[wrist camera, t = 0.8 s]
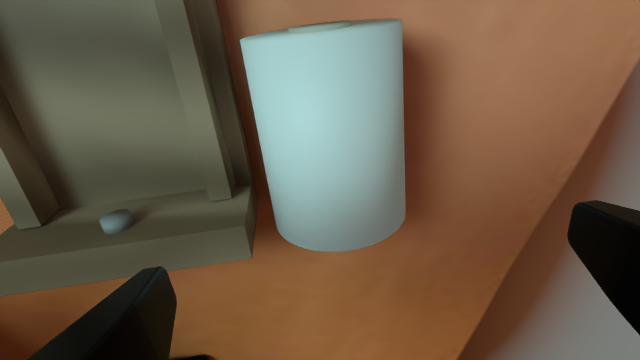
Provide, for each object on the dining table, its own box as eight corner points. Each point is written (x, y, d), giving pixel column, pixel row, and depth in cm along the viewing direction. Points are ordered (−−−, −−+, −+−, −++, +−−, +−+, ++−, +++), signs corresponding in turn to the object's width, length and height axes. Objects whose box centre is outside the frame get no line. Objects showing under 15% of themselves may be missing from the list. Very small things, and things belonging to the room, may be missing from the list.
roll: (386, 178, 20) (425, 241, 15) (276, 195, 20) (276, 265, 15) (379, 13, 17) (427, 17, 11) (245, 30, 17) (230, 42, 11)
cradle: (258, 201, 20) (251, 258, 16) (49, 231, 20) (-19, 299, 15) (168, -219, 13) (109, -338, 8) (-163, -184, 12) (-412, -289, 8)
